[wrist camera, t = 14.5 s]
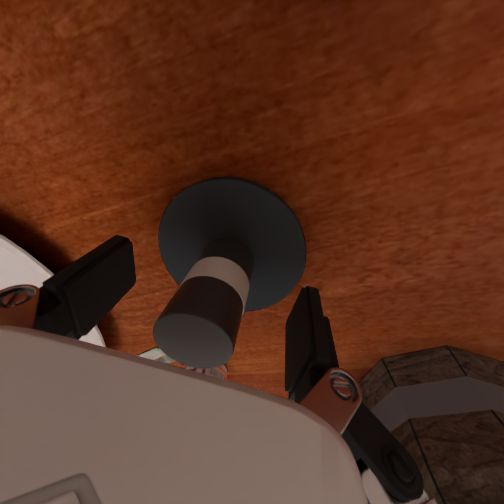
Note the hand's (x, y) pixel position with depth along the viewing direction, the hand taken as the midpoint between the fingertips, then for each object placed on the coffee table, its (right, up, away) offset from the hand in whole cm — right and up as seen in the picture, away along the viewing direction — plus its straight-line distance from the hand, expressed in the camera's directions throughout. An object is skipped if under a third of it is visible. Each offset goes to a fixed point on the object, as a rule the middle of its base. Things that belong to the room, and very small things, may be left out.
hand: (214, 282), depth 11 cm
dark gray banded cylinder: (0, +1, +4) cm, 4 cm away
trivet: (0, +2, +5) cm, 5 cm away
